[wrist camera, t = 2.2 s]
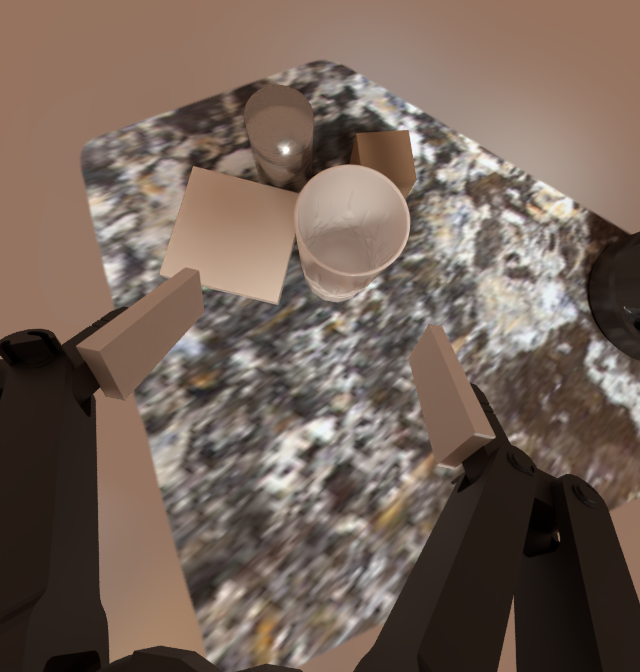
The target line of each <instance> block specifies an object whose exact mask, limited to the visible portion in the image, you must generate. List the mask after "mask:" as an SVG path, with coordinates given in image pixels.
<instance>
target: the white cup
mask: <svg viewBox="0 0 640 672" xmlns="http://www.w3.org/2000/svg"><path fill="white" fill-rule="evenodd" d="M294 227H295V233H296V238H297V245H298V251H299V256H300V261H301V265H302V269H303V272H304V276H305V280H306V282H307V284H308V286H309V287H310V289H311V291H312V292H313V293H314V294H316V295H317V296H319V297H320V298H322V299H323V300H327V301H333V302H341V301H344V300H348V299H351V298H352V297H353V296H355V295H356V294H357V293H358V292H360V291H362V290H363V289H364V288H365V287H366V286H368V285H369V284H370V283H371V282H372V281H373V280H374V279H375V278H376V277H377V276H378V275H380V274H381V273H382V272H383V271H384V270H385V269H386V268H387V267H388V266H389V265H390V264H391V263H392V262H393V261H394V260H395V259H396V258H397V257H398V256H399V255H400V253H401V252H402V250H403V249H404V247H405V245H406V242H407V239H408V236H409V231H410V215H409V210H408V206H407V203H406V201H405V199H404V197H403V195H402V193H401V192H400V190H399V189H398V188H397V187H396V185H395V184H394V183H393V182H392V181H391V180H390V179H388V178H387V177H386V176H384V175H383V174H381V173H380V172H378V171H376V170H373V169H371V168H368V167H365V166H360V165H339V166H334V167H331V168H328V169H326V170H324V171H322V172H320V173H318V174H317V175H315V176H314V177H313V178H312V179H311V180H309V181H308V183H307V184H306V185H305V186H304V187H303V189H302V191H301V192H300V194H299V196H298V199H297V201H296V205H295V209H294Z"/></svg>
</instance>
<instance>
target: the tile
mask: <svg viewBox="0 0 640 672" xmlns="http://www.w3.org/2000/svg"><path fill="white" fill-rule="evenodd" d="M298 196H299V193H295V192H291V191H288V190H284V189H280V188H276V187H272V186H268V185H264V184H261V183H257V182H253V181H249V180H245V179H241V178H237V177H234V176H230V175H226V174H222V173H218V172H214V171H210V170H206V169H203V168H199V167H195V166H193V169H192V172H191V175H190V178H189V182H188V185H187V188H186V191H185V194H184V197H183V201H182V204H181V207H180V210H179V213H178V216H177V220H176V223H175V226H174V229H173V232H172V236H171V239H170V242H169V245H168V248H167V251H166V255H165V258H164V261H163V264H162V267H161V270H160V275H161V276H163V277H165V278H169V279H170V278H171V277H173V276H174V275H175V274H177V273H178V272H179V271H181V270H182V269H184V268H185V267H186V268H190V269H195V270H199V273H200V281H201V286H202V287H206V288H210V289H214V290H218V291H222V292H227V293H231V294H235V295H239V296H243V297H247V298H251V299H255V300H260V301H264V302H268V303H272V304H276V305H279V301H280V298H281V294H282V290H283V286H284V282H285V278H286V274H287V270H288V266H289V263H290V259H291V255H292V251H293V247H294V243H295V239H296V233H295V227H294V209H295V205H296V201H297V199H298Z"/></svg>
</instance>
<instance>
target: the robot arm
mask: <svg viewBox="0 0 640 672" xmlns="http://www.w3.org/2000/svg"><path fill="white" fill-rule="evenodd" d="M589 293H590V302H591V307H592V310H593V313H594V316H595V318H596V321H597V323H598V325H599V326H600V328H601V330H602V331H603V333H604V334H605V335H606V337H607V338H608V339H609V340H610V341H611V342H612V343H613V344H614V345H615V346H616V347H617V348H618V349H620V350H621V351H622V352H624V353H625V354H627V355H629V356H631V357H633V358H635V359H637V360H640V232H638V233H635V234H632V235H630V236H627V237H624V238H622V239H619V240H617V241H615V242H614V243H612V244H611V245H610V246H608V247H607V248H606V249H605V250H604V251H603V252H602V253H601V255H600V256H599V258H598V259H597V261H596V263H595V265H594V267H593V270H592V273H591V278H590V286H589ZM203 313H204V305H203V297H202V289H201V281H200V273H199V270H195V269H190V268H186V267H185V268H184V269H182V270H181V271H179V272H178V273H177V274H175V275H174V276H173V277H171V278H170V279H168V280H167V281H166V282H164V283H163V284H161V285H160V286H159V287H157V288H156V289H154V290H153V291H152V292H150V293H149V294H148V295H146V296H145V297H143V298H142V299H141V300H139V301H138V302H136V303H135V304H134V305H132V306H131V307H129V308H128V307H122V308H119V309H116V310H114V311H111V312H109V313H108V314H107V315H105V316H104V317H102V318H101V319H100V320H98V321H97V322H95V323H93V324H92V326H89V327H87V328H86V329H84V330H83V331H82V332H80V333H79V334H77V335H76V336H74V337H73V338H71V339H70V340H68V341H67V342H65V343H64V344H62V345H61V344H60V342H59V341H58V339H57V338H56V336H55V334H54V333H53V332H51V331H49V330H45V329H28V330H24V331H20V332H16V333H13V334H11V335H8V336H6V337H4V338H3V339H1V340H0V356H1V357H2V358H3V359H0V672H223V671H222V670H220V669H219V668H218V667H216V666H215V665H213V664H212V663H211V662H209V661H208V660H206V659H205V658H203V657H202V656H201V655H199V654H198V653H196V652H194V651H189V650H183V649H177V648H171V647H165V646H156V647H151V648H147V649H141V650H137V651H134V652H133V654H132V655H128V656H126V657H124V658H121V659H118V660H116V661H114V662H112V663H110V664H109V637H108V623H107V618H106V614H105V611H104V609H103V606H102V604H101V600H100V589H99V541H98V498H97V497H98V494H97V451H96V450H97V447H96V400H95V397H94V395H93V393H95V392H96V391H97V390H98V389H99V388H101V389H102V391H103V392H104V395H105V396H106V397H111V398H116V399H121V400H126V399H127V397H128V396H129V395H130V394H131V393H132V392H133V391H134V390H135V389H136V387H137V386H138V385H139V384H140V383H141V382H142V381H143V380H144V379H145V377H146V376H147V375H148V374H149V373H150V372H151V371H152V370H153V369H154V367H155V366H156V365H157V364H158V363H159V362H160V361H161V360H162V359H163V357H164V356H165V355H166V354H167V353H168V352H169V351H170V350H171V349H172V347H173V346H174V345H175V344H176V343H177V342H178V341H179V340H180V339H181V337H182V336H183V335H184V334H185V333H186V332H187V331H188V330H189V329H190V327H191V326H192V325H193V324H194V323H195V322H196V321H197V320H198V319H199V317H200V316H201V315H202V314H203ZM409 362H410V366H411V370H412V373H413V377H414V381H415V385H416V389H417V393H418V396H419V400H420V404H421V408H422V412H423V416H424V419H425V423H426V427H427V431H428V435H429V439H430V442H431V446H432V450H433V454H434V458H435V462H436V465H437V466H441V467H446V468H451V469H455V468H456V467H457V466H459V465H460V464H461V463H462V464H463V467H464V470H465V472H464V473H462V474H461V475H459V476H458V477H457V478H455V479H454V480H453V481H452V482H451V483H452V484H455V483H456V482H457V483H456V485H455V487H454V489H453V491H452V493H451V495H450V497H449V499H448V501H447V503H446V505H445V507H444V509H443V511H442V513H441V515H440V517H439V519H438V521H437V523H436V525H435V526H434V528H433V530H432V532H431V534H430V536H429V538H428V540H427V542H426V544H425V546H424V548H423V550H422V552H421V554H420V556H419V558H418V560H417V562H416V564H415V566H414V568H413V570H412V572H411V574H410V575H409V577H408V579H407V581H406V583H405V585H404V587H403V589H402V591H401V593H400V595H399V597H398V599H397V601H396V603H395V605H394V607H393V609H392V611H391V613H390V615H389V617H388V619H387V621H386V623H385V624H384V626H383V628H382V630H381V632H380V634H379V636H378V639H377V640H376V642H375V644H374V646H373V647H372V648H371V650H370V651H369V652H368V653H367V654H366V655H365V656H364V657H363V658H362V659H361V660H360V662H359V664H358V665H357V666H356V668H355V670H354V671H353V672H497V670H498V665H499V661H500V656H501V651H502V647H503V642H504V637H505V633H506V627H507V623H508V619H509V614H510V609H511V605H512V600H513V595H514V613H515V638H516V639H515V640H516V667H517V672H640V603H639V600H638V597H637V594H636V591H635V588H634V585H633V582H632V579H631V576H630V573H629V570H628V567H627V564H626V562H625V558H624V555H623V552H622V549H621V547H620V543H619V540H618V537H617V534H616V532H615V528H614V525H613V522H612V520H611V516H610V513H609V510H608V508H607V506H606V504H605V502H604V500H603V499H602V497H601V496H600V495H599V494H598V492H597V491H596V490H595V489H594V488H593V487H592V486H590V485H589V484H588V483H587V482H585V481H584V480H582V479H581V478H579V477H577V476H575V475H572V474H565V475H563V476H561V477H559V478H555V477H553V476H551V475H549V474H547V473H545V472H543V471H541V470H539V469H537V467H536V465H535V464H534V462H533V461H532V460H531V458H530V457H529V456H528V455H527V454H525V453H524V452H523V451H522V450H520V449H519V448H517V447H515V446H513V445H511V444H510V442H509V440H508V438H507V436H506V434H505V433H504V431H503V429H502V427H501V425H500V423H499V421H498V419H497V417H496V415H495V414H493V410H492V408H491V406H489V402H488V400H487V398H486V397H485V395H484V393H483V392H482V391H481V390H480V389H479V388H478V387H477V386H476V385H475V384H471V383H469V381H468V379H467V377H466V375H465V373H464V371H463V369H462V367H461V365H460V363H459V361H458V359H457V356H456V354H455V352H454V350H453V348H452V346H451V344H450V342H449V340H448V338H447V336H446V334H445V332H444V330H443V328H442V327H440V326H436V325H431V324H429V325H428V327H427V328H426V330H425V332H424V333H423V335H422V337H421V338H420V340H419V342H418V343H417V345H416V346H415V348H414V350H413V351H412V353H411V355H410V356H409ZM558 532H559V534H560V542H559V540H558V535H557V533H558ZM237 672H303V671H301V670H300V669H294V668H288V667H283V666H277V665H271V664H264V665H260V666H256V667H252V668H249V669H245V670H241V671H237Z"/></svg>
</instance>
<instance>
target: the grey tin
mask: <svg viewBox="0 0 640 672" xmlns="http://www.w3.org/2000/svg"><path fill="white" fill-rule="evenodd" d="M244 121H245V125H246V129H247V133H248V137H249V140H250V144H251V148H252V152H253V155H254V159H255V163H256V167H257V170H258V174H259V177H260V180H261V182H262V183H263V184H264V185H268V186H272V187H276V188H280V189H284V190H288V191H291V192H295V193H299V192H301V191H302V189H303V187H304V186H305V185H306V184H307V183H308V181H309V180H311V177H312V164H313V124H314V115H313V110H312V107H311V105H310V103H309V101H308V100H307V99H306V97H305V96H304V95H303V94H301V93H300V92H299V91H297V90H295V89H293V88H291V87H288V86H283V85H272V86H267V87H264V88H262V89H260V90H258V91H257V92H255V93H254V94H253V95H252V96H251V97H250V99H249V100H248V102H247V104H246V106H245V110H244Z"/></svg>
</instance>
